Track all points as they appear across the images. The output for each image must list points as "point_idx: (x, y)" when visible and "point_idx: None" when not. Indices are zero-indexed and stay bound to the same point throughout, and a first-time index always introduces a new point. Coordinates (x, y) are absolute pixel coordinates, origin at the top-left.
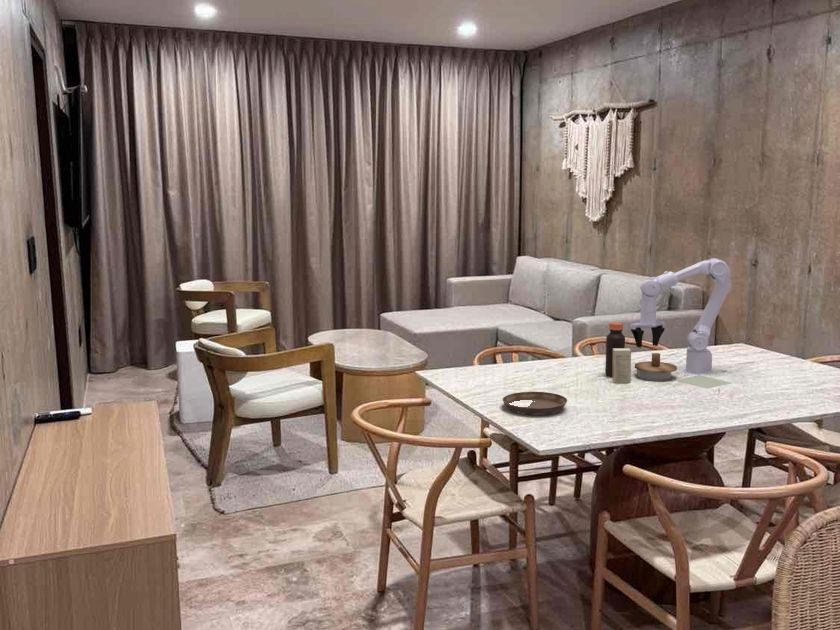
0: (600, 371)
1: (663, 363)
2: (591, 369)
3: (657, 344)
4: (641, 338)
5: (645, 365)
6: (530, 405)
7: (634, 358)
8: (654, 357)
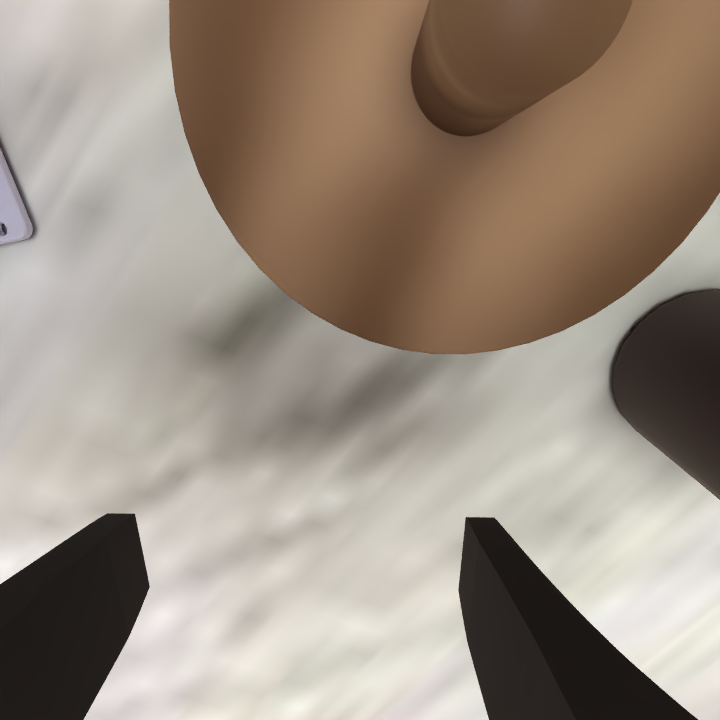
0: (661, 521)
1: (267, 158)
2: (667, 589)
3: (95, 526)
4: (582, 668)
5: (580, 156)
6: None
7: (161, 710)
8: None
